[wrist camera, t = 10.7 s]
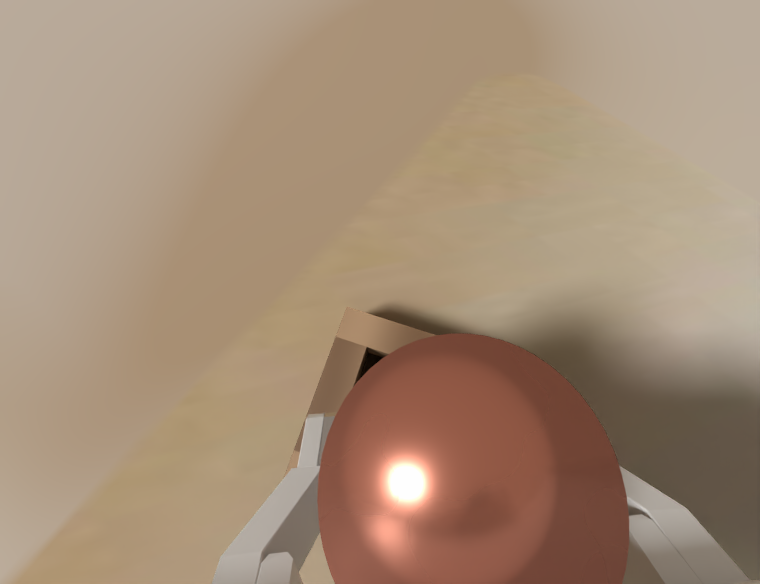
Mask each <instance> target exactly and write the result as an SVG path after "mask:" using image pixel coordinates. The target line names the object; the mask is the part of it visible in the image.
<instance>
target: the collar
mask: <svg viewBox="0 0 760 584" xmlns="http://www.w3.org/2000/svg"><path fill="white" fill-rule="evenodd" d="M431 336H437V335H434V334H431V333H428V332H425V331H422V330H419V329H415V328H412V327H409V326H406V325H403V324H400V323H397V322H394V321H390V320H387V319H384V318H381V317H378V316H375V315H372V314H369V313H365V312H362V311H359V310H356V309H353V308H350V307H347V308H346V310H345V313H344V316H343V318H342V321H341V324H340V327H339V329H338V332H337V335H336V337H335V340H334V343H333V346H332V348H331V351H330V354H329V356H328V359H327V362H326V365H325V367H324V370H323V373H322V375H321V378H320V381H319V383H318V386H317V389H316V392H315V394H314V397H313V400H312V402H311V405H310V408H309V411H308V413H307V416H308V414H319V413H331V412H338V410H339V408H340V407H341V405H342V403H343V401H344V399H345V398H346V396H347V395H348V394H349V392H350V391H351V390H352V388H353V387H354V386H355V384H356V383H357V382H358V381H359V379H360V376H361V373H362V370H363V367H364V364H365V361H366V358H367V355H368V353H370V354H373V355H377V356H380V357H383V358H384V357H385V356H387V355H388V354H390V353H392V352H393V351H395V350H397V349H398V348H400V347H403V346H405V345H407V344H410V343H412V342H414V341H417V340H420V339H424V338H428V337H431ZM307 416H306V419H307ZM306 419H305V421H304V424H303V427H302V430H301V432H300V435H299V438H298V440H297V443H296V446H295V449H294V451H293V454H292V457H291V459H290V462H289V465H288V467H287V470H286V473H285V476H286V475H287V474H288V472H289V471H290V470H291V469H292V468H297V465H298V460H299V455H300V449H301V444H302V439H303V433H304V428H305V422H306ZM285 476H284V477H285ZM283 479H284V478H283Z"/></svg>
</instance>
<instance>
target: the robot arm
mask: <svg viewBox="0 0 760 584" xmlns="http://www.w3.org/2000/svg"><path fill="white" fill-rule="evenodd" d="M336 414H337V412H331V413H319V414H308V416H307V419H306V422H305V428H304V433H303V439H302V444H301V449H300V455H299V460H298V465H297V468H292V469H291V470H290V471H289V472H288V474H287V475H286V476H285V477H284V479H283V480H282V481H281V482H280V484H279V485H278V486H277V487H276V489H275V490H274V491H273V492H272V494H271V495H270V496H269V497H268V498H267V500H266V501H265V502H264V503H263V505H262V506H261V507H260V508H259V510H258V511H257V512H256V513H255V515H254V516H253V517H252V518H251V520H250V521H249V522H248V523H247V525H246V526H245V527H244V528H243V530H242V531H241V532H240V533H239V535H238V536H237V537H236V538H235V540H234V541H233V542H232V543H231V545H230V546H229V547H228V548H227V549H226V551H225V552H224V553H223V554H222V556H221V557H220V560H219V563H218V566H217V569H216V572H215V575H214V579H213V582H212V584H303V582H302V580H301V577H300V575H299V570H300V568H301V566H302V565H303V563H304V561H305V559H306V557H307V555H308V553H309V551H310V550H311V548H312V546H313V544H314V542H315V540H316V538H317V536H318V535H319V533H320V528H319V519H318V504H317V496H318V476H319V470H320V464H321V458H322V453H323V449H324V446H325V442H326V439H327V435H328V433H329V430H330V428H331V425H332V423H333V420H334V418H335V416H336ZM619 467H620V470H621V473H622V477H623V482H624V486H625V491H626V495H627V504H628V513H629V549H628V557H627V565H626V571H625V575H624V579H623V582H622V584H760V580H752V581H751V580H750V579H749V578H748V577H747V576H746V575H745V574H744V572H743V571H742V570H741V569H740V568H739V567H738V566H737V565H736V563H735V562H734V561H733V560H732V559H731V558H730V557H729V556H728V554H727V553H726V552H725V551H724V550H723V549H722V548H721V546H720V545H719V544H718V543H717V542H716V541H715V540H714V539H713V537H712V536H711V535H710V534H709V533H708V532H707V531H706V530H705V528H704V527H703V526H702V525H701V524H700V523H699V522H698V520H697V519H696V518H695V517H694V516H693V515H692V514H691V513H690V511H689V510H688V509H687V508H686V507H684V506H682V505H681V504H679V503H678V502H676V501H675V500H673V499H671V498H670V497H668V496H667V495H665V494H663V493H662V492H660V491H659V490H657V489H656V488H654V487H652V486H651V485H649V484H648V483H646V482H645V481H643V480H641V479H640V478H638V477H637V476H635V475H634V474H632V473H630V472H629V471H627V470H626V469H624V468H623V467H621V466H619Z"/></svg>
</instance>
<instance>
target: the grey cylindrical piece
mask: <svg viewBox="0 0 760 584" xmlns="http://www.w3.org/2000/svg"><path fill="white" fill-rule="evenodd" d="M317 504H318V519H319V528H320V533H321V539H322V544H323V549H324V553H325V556H326V559H327V563H328V566H329V569H330V572H331V575H332V577H333V579H334V582H335V584H622V582H623V579H624V575H625V571H626V565H627V557H628V549H629V513H628V504H627V495H626V491H625V486H624V482H623V477H622V473H621V470H620V467H619V464H618V461H617V458H616V455H615V452H614V450H613V448H612V445H611V443H610V441H609V439H608V437H607V435H606V432H605V430H604V429H603V427H602V425H601V424H600V422H599V420H598V419H597V417H596V415H595V414H594V412H593V411H592V409H591V408H590V407H589V405H588V404H587V402H586V401H585V400H584V398H583V397H582V396H581V395H580V393H579V392H578V391H577V390H576V389H575V388H574V387H573V386H572V385H571V384H570V383H569V382H568V381H567V379H565V378H564V377H563V376H562V375H561V374H560V373H558V372H557V371H556V370H555V369H554V368H553V367H552V366H550V365H549V364H547V363H546V362H544V361H543V360H541V359H540V358H538V357H537V356H536V355H534V354H532V353H530V352H528V351H526V350H524V349H522V348H520V347H518V346H516V345H513V344H511V343H508V342H505V341H503V340H500V339H496V338H492V337H488V336H483V335H475V334H444V335H437V336H431V337H428V338H424V339H420V340H417V341H414V342H412V343H410V344H407V345H405V346H403V347H400V348H398V349H397V350H395V351H393V352H392V353H390V354H388V355H387V356H385V357H384V358H382V359H381V360H380V361H379V362H377V363H376V364H375V365H374V366H373V367H371V368H370V369H369V370H368V371H367V372H366V373H365V374H364V375H363V376H362V377H361V378H360V379H359V381H358V382H357V383H356V384H355V386H354V387H353V388H352V390H351V391H350V392H349V394H348V395H347V396H346V398H345V399H344V401H343V403H342V405H341V407H340V408H339V410H338V412H337V414H336V416H335V418H334V420H333V423H332V425H331V428H330V430H329V433H328V435H327V439H326V442H325V446H324V449H323V453H322V458H321V464H320V470H319V476H318V496H317Z"/></svg>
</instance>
